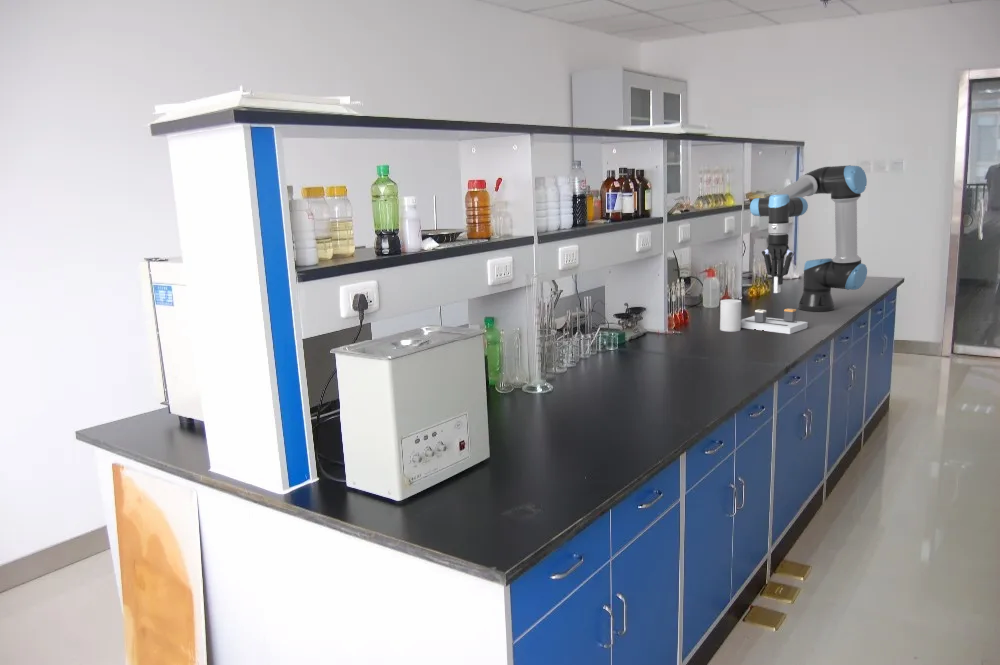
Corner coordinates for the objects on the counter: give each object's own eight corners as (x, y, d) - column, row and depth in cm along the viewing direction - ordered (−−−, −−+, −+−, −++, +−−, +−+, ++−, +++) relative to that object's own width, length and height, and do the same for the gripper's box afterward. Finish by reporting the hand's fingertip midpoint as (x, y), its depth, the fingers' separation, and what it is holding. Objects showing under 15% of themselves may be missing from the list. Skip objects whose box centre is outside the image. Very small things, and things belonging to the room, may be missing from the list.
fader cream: (758, 320, 305) (758, 309, 304) (766, 321, 303) (766, 309, 302) (754, 321, 303) (754, 310, 302) (762, 322, 301) (763, 310, 300)
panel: (753, 321, 318) (753, 315, 317) (807, 327, 300) (807, 321, 300) (735, 327, 308) (735, 320, 308) (789, 334, 291) (790, 327, 290)
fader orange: (787, 319, 304) (787, 308, 303) (795, 320, 301) (796, 309, 300) (783, 320, 302) (784, 309, 301) (792, 321, 300) (792, 310, 299)
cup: (738, 327, 307) (738, 299, 305) (742, 331, 299) (743, 302, 297) (718, 327, 308) (718, 299, 306) (722, 331, 300) (722, 302, 298)
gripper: (758, 234, 293) (757, 292, 298) (789, 235, 284) (788, 295, 289) (767, 232, 298) (766, 289, 303) (798, 233, 288) (797, 292, 294)
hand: (777, 292), depth 296 cm, fingers closed
